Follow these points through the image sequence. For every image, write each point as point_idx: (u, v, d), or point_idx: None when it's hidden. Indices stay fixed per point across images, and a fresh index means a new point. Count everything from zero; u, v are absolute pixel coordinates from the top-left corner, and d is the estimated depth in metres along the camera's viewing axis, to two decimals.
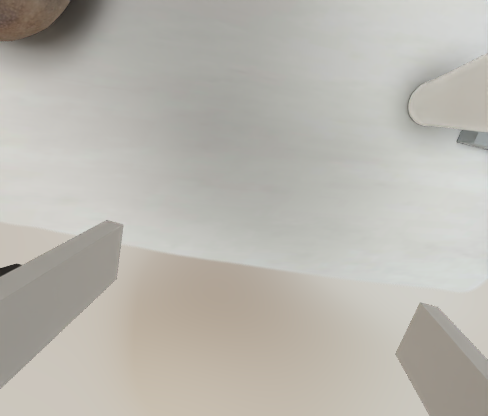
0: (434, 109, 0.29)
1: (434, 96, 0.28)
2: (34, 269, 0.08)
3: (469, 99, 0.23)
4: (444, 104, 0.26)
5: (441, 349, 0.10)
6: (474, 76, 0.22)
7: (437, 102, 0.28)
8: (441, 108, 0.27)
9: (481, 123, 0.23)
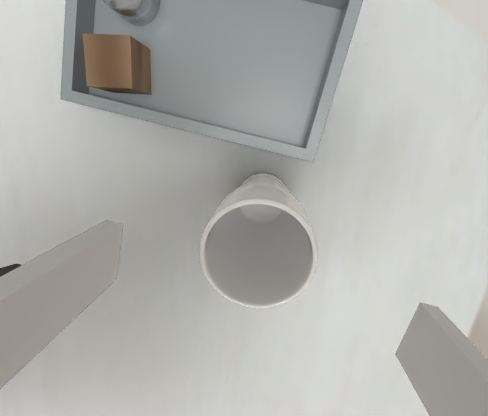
0: None
1: None
2: (34, 269, 0.08)
3: None
4: None
5: (441, 349, 0.10)
6: None
7: None
8: None
9: None
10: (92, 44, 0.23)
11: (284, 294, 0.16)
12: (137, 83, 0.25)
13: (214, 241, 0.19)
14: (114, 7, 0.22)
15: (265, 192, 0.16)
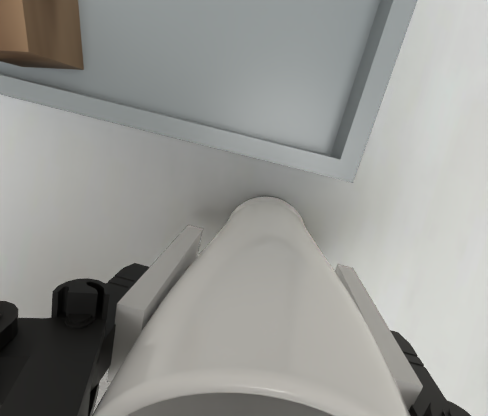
0: None
1: None
2: (163, 268, 0.10)
3: None
4: None
5: None
6: None
7: None
8: None
9: None
10: None
11: None
12: (45, 45, 0.14)
13: None
14: None
15: (271, 310, 0.05)
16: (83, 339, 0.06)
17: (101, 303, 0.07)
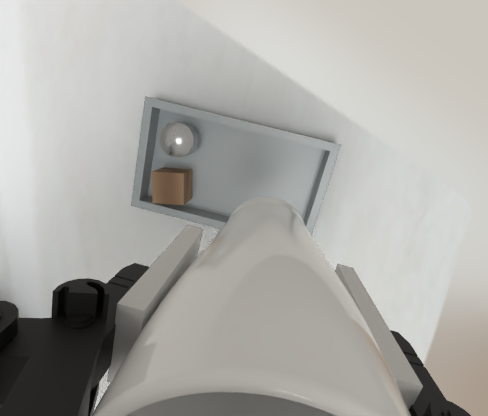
0: None
1: None
2: (163, 268, 0.10)
3: None
4: None
5: None
6: None
7: None
8: None
9: None
10: (157, 178, 0.35)
11: None
12: (186, 199, 0.36)
13: None
14: (173, 156, 0.34)
15: (272, 310, 0.05)
16: (83, 339, 0.06)
17: (101, 303, 0.07)
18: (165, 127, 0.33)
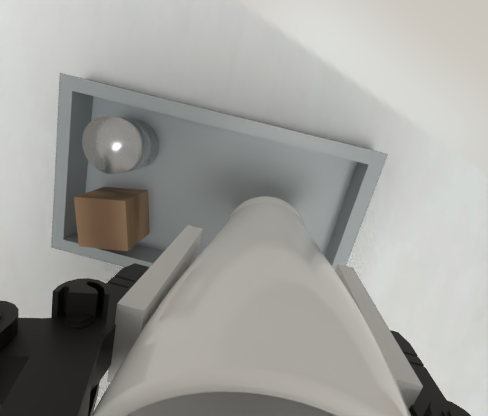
0: None
1: None
2: (163, 268, 0.10)
3: None
4: None
5: None
6: None
7: None
8: None
9: None
10: (84, 207, 0.21)
11: None
12: (134, 239, 0.23)
13: None
14: (108, 173, 0.20)
15: (272, 309, 0.05)
16: (83, 339, 0.06)
17: (101, 303, 0.07)
18: (91, 124, 0.19)
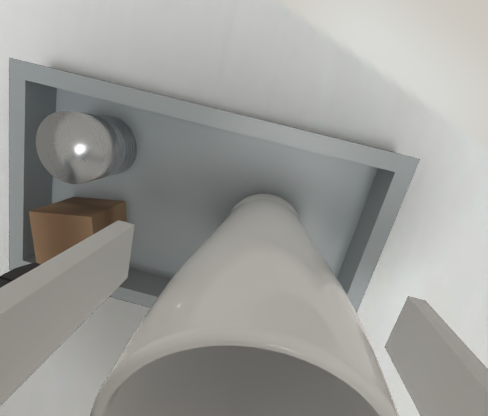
0: None
1: None
2: (54, 267, 0.08)
3: None
4: None
5: (426, 341, 0.10)
6: None
7: None
8: None
9: None
10: (42, 224, 0.17)
11: None
12: None
13: None
14: (69, 182, 0.16)
15: (263, 285, 0.06)
16: None
17: None
18: (45, 122, 0.15)
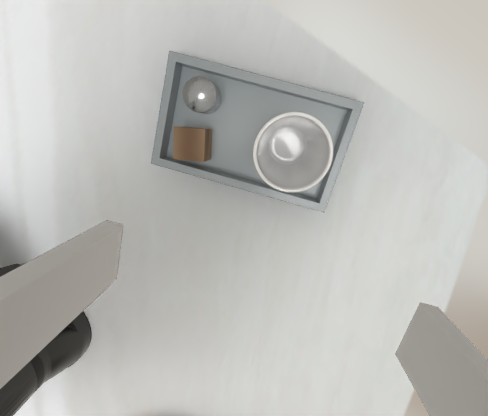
0: None
1: None
2: (34, 269, 0.08)
3: None
4: None
5: (441, 350, 0.10)
6: None
7: None
8: None
9: None
10: (179, 133, 0.35)
11: (309, 183, 0.24)
12: (206, 156, 0.36)
13: (258, 155, 0.27)
14: (196, 111, 0.34)
15: None
16: None
17: None
18: (189, 81, 0.33)
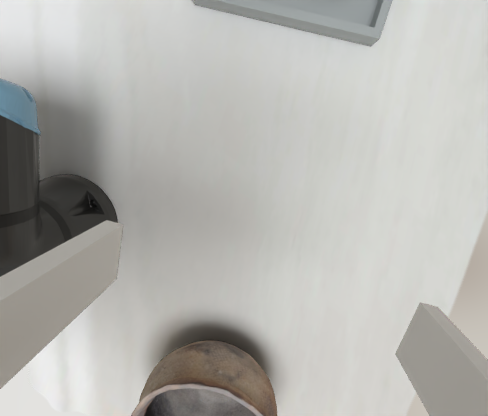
0: None
1: None
2: (34, 269, 0.08)
3: None
4: None
5: (441, 350, 0.10)
6: None
7: None
8: None
9: None
10: None
11: None
12: None
13: None
14: None
15: None
16: None
17: None
18: None
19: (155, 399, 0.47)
